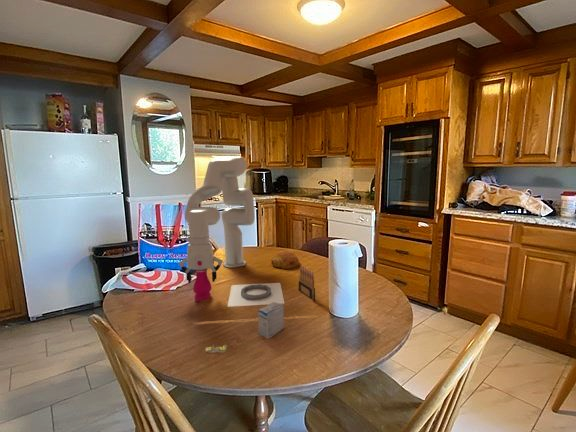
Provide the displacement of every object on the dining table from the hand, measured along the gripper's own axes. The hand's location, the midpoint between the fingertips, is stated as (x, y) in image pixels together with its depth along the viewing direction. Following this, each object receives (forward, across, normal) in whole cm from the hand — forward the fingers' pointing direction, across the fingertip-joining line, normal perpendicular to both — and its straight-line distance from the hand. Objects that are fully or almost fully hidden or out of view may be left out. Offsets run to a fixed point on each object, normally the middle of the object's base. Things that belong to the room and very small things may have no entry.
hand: (201, 281), depth 130 cm
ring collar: (+7, +22, 0) cm, 23 cm away
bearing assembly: (+8, +10, -38) cm, 40 cm away
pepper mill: (+8, 0, 0) cm, 8 cm away
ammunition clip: (+8, +43, -3) cm, 44 cm away
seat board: (+7, +22, 0) cm, 23 cm away
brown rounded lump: (+8, +38, +39) cm, 55 cm away
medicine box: (+8, +27, -30) cm, 41 cm away
